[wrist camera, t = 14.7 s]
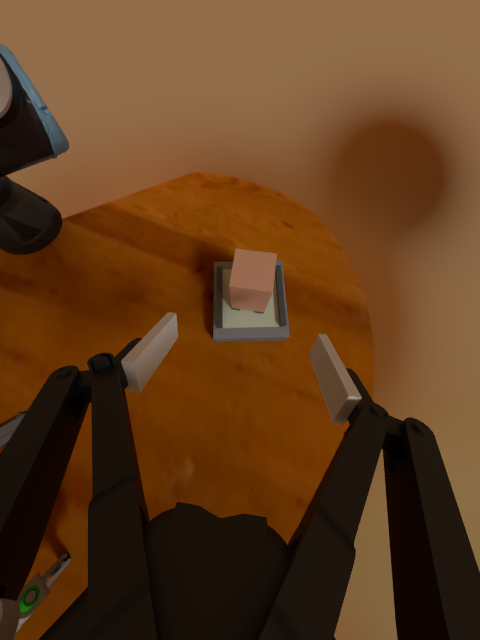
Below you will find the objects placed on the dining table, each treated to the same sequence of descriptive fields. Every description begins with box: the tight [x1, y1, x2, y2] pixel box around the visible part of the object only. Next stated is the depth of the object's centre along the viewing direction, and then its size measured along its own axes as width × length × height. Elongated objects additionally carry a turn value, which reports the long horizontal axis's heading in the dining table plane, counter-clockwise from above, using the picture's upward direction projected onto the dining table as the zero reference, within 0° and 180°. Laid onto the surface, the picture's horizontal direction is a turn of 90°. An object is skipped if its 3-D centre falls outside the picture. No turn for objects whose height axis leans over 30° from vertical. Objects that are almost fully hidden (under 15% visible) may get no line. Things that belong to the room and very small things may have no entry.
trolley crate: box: [229, 249, 277, 314], centre depth 30 cm, size 6×6×10 cm
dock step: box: [213, 260, 290, 342], centre depth 37 cm, size 16×14×6 cm
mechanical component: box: [16, 552, 71, 632], centre depth 23 cm, size 3×10×10 cm, turn 137°
